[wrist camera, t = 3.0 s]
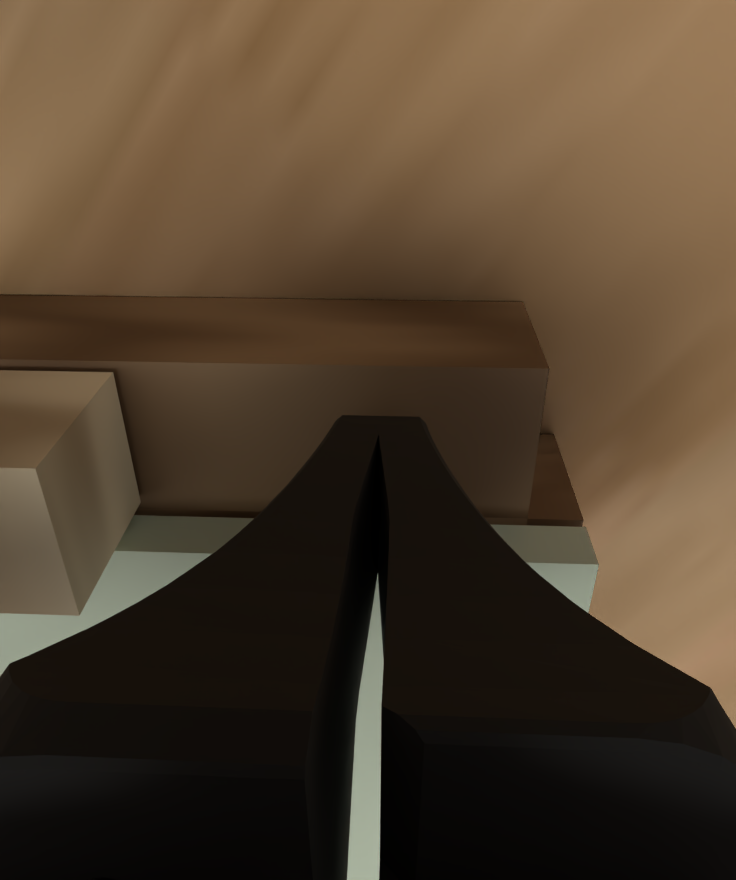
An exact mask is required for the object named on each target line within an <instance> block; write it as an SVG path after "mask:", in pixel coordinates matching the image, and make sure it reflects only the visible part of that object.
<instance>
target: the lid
mask: <svg viewBox="0 0 736 880" xmlns="http://www.w3.org/2000/svg"><path fill="white" fill-rule="evenodd" d="M253 519H254V518H225V517H187V516H149V515H134V516H133V518H132V519H131V521H130V523H129V525H128V527H127V529H126V530H125V532H124V534H123V536H122V538H121V540H120V542H119V543H118V545H117V547H116V549H115V551H114V553H113V555H112V556H111V558H110V560H109V562H108V564H107V566H106V568H105V569H104V571H103V573H102V575H101V577H100V579H99V581H98V582H97V584H96V586H95V588H94V590H93V592H92V594H91V595H90V597H89V599H88V601H87V603H86V605H85V607H84V608H83V610H82V612H81V614H80V616H71V615H40V614H9V613H0V676H1V675H2V673H3V672H4V670H5V669H6V668H7V666H8V665H9V664H10V663H12V662H14V661H17V660H19V659H21V658H24V657H26V656H29V655H31V654H33V653H35V652H37V651H39V650H42V649H44V648H46V647H48V646H50V645H53V644H55V643H57V642H59V641H61V640H64V639H66V638H68V637H70V636H72V635H75V634H77V633H79V632H81V631H83V630H86V629H88V628H90V627H92V626H94V625H96V624H98V623H100V622H102V621H104V620H106V619H108V618H110V617H111V616H113V615H115V614H117V613H119V612H121V611H122V610H124V609H126V608H128V607H130V606H132V605H133V604H135V603H137V602H139V601H141V600H142V599H144V598H146V597H147V596H149V595H151V594H152V593H154V592H156V591H158V590H159V589H161V588H163V587H164V586H166V585H167V584H169V583H171V582H172V581H174V580H175V579H176V578H178V577H179V576H181V575H182V574H184V573H185V572H187V571H188V570H190V569H191V568H192V567H194V566H195V565H197V564H198V563H200V562H201V561H203V560H204V559H206V558H207V557H208V556H210V555H211V554H213V553H214V552H216V551H217V550H218V549H219V548H221V547H222V546H223V545H224V544H225V543H227V542H228V541H229V540H230V539H231V538H233V537H234V536H235V535H236V534H237V533H239V532H240V531H241V530H242V529H243V528H244V527H245V526H247V525H248V524H249V523H250V522H251V521H252V520H253ZM490 525H491V526H492V527H493V528H494V529H495V531H496V532H497V533H498V534H499V535H500V536H501V537H502V538H503V540H504V541H505V542H506V543H507V544H508V545H509V546H510V547H511V548H512V549H513V550H514V551H515V552H516V553H517V554H518V555H519V556H520V557H521V558H522V559H523V560H524V561H525V562H526V563H527V564H528V565H529V566H530V567H531V568H532V569H534V570H535V571H536V572H537V573H538V574H539V575H540V576H542V577H543V578H544V579H545V580H547V581H548V582H549V583H550V584H551V585H553V586H554V587H555V588H556V589H558V590H559V591H560V592H561V593H562V594H564V595H565V596H566V597H567V598H569V599H570V600H571V601H572V602H574V603H575V604H576V605H578V606H579V607H580V608H582V609H583V610H585V611H586V612H587V613H588V612H589V607H590V603H591V598H592V593H593V589H594V584H595V580H596V575H597V571H598V566H599V564H598V561H597V558H596V555H595V552H594V549H593V546H592V543H591V541H590V538H589V535H588V532H587V529H586V527H569V526H531V525H492V524H490ZM383 666H384V659H383V644H382V629H381V614H380V599H379V584H378V575H377V581H376V588H375V594H374V601H373V607H372V614H371V620H370V627H369V633H368V639H367V646H366V652H365V658H364V665H363V671H362V677H361V684H360V690H359V698H358V707H357V716H356V728H355V745H354V762H353V779H352V797H351V815H350V833H349V851H348V870H347V880H379V869H380V794H381V704H382V686H383Z"/></svg>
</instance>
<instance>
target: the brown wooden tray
mask: <svg viewBox="0 0 736 880" xmlns="http://www.w3.org/2000/svg"><path fill="white" fill-rule="evenodd" d="M0 370H13V371H70V372H113V374H114V379H115V383H116V388H117V393H118V397H119V402H120V407H121V412H122V416H123V421H124V426H125V430H126V435H127V440H128V444H129V449H130V454H131V459H132V463H133V468H134V473H135V477H136V482H137V487H138V491H139V496H140V501H141V503H140V505H139V506H138V508H137V510H136V512H135V514H134V515H149V516H187V517H225V518H255V517H256V516H257V515H258V514H259V513H260V512H261V511H262V510H263V509H264V508H265V507H266V506H267V505H268V504H269V503H270V502H271V501H272V500H273V499H274V498H275V497H276V496H277V495H278V494H279V493H280V492H281V491H282V490H283V489H284V487H285V486H286V485H287V484H288V483H289V482H290V481H291V480H292V478H293V477H294V476H295V475H296V474H297V472H298V471H299V470H300V469H301V468H302V466H303V465H304V464H305V463H306V462H307V460H308V459H309V458H310V457H311V455H312V454H313V453H314V451H315V450H316V449H317V447H318V446H319V445H320V443H321V442H322V441H323V439H324V438H325V436H326V435H327V433H328V432H329V430H330V429H331V427H332V426H333V424H334V422H335V421H336V420H337V419H338V418H340V417H341V416H342V415H362V416H412V417H420V418H421V419H422V420H423V421H424V422H425V423H426V424H427V427H428V430H429V432H430V435H431V437H432V439H433V441H434V443H435V445H436V447H437V449H438V450H439V452H440V454H441V456H442V458H443V459H444V461H445V463H446V464H447V466H448V468H449V469H450V471H451V472H452V474H453V475H454V477H455V478H456V480H457V481H458V483H459V484H460V486H461V487H462V489H463V490H464V492H465V493H466V494H467V496H468V497H469V498H470V500H471V501H472V502H473V504H474V505H475V506H476V508H477V509H478V510H479V511H480V513H481V514H482V515H483V516H484V518H485V519H486V520H487V521H488V523H489V524H492V525H531V526H569V527H582V525H583V517H582V514H581V512H580V509H579V506H578V503H577V500H576V497H575V494H574V491H573V488H572V486H571V483H570V480H569V477H568V474H567V471H566V468H565V465H564V462H563V459H562V457H561V454H560V451H559V448H558V445H557V442H556V439H555V436H554V435H552V434H540V429H541V422H542V415H543V408H544V401H545V395H546V388H547V381H548V374H549V367H548V364H547V362H546V359H545V357H544V354H543V352H542V349H541V347H540V344H539V342H538V339H537V337H536V334H535V331H534V329H533V326H532V324H531V321H530V319H529V316H528V314H527V311H526V309H525V306H524V304H523V302H495V301H418V300H342V299H265V298H189V297H112V296H36V295H0Z"/></svg>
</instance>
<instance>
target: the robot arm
mask: <svg viewBox="0 0 736 880" xmlns="http://www.w3.org/2000/svg"><path fill="white" fill-rule="evenodd" d="M377 575H378V584H379V599H380V614H381V629H382V644H383V659H384V666H383V686H382V704H381V794H380V869H379V880H736V729H735V727H734V725H733V724H732V722H731V721H730V719H729V717H728V716H727V714H726V713H725V711H724V709H723V708H722V706H721V705H720V703H719V701H718V700H717V698H716V696H715V694H714V693H713V691H712V689H711V688H710V687H708V686H706V685H705V684H703V683H701V682H699V681H698V680H696V679H694V678H692V677H691V676H689V675H687V674H685V673H684V672H682V671H680V670H678V669H677V668H675V667H673V666H671V665H670V664H668V663H666V662H664V661H663V660H661V659H659V658H657V657H656V656H654V655H652V654H650V653H648V652H647V651H645V650H643V649H641V648H640V647H638V646H636V645H635V644H633V643H632V642H630V641H628V640H627V639H625V638H624V637H622V636H621V635H619V634H618V633H616V632H615V631H614V630H612V629H611V628H609V627H608V626H606V625H605V624H603V623H602V622H600V621H599V620H597V619H596V618H594V617H593V616H591V615H590V614H589V613H587V612H586V611H585V610H583V609H582V608H580V607H579V606H578V605H576V604H575V603H574V602H572V601H571V600H570V599H569V598H567V597H566V596H565V595H564V594H562V593H561V592H560V591H559V590H558V589H556V588H555V587H554V586H553V585H551V584H550V583H549V582H548V581H547V580H545V579H544V578H543V577H542V576H540V575H539V574H538V573H537V572H536V571H535V570H534V569H532V568H531V567H530V566H529V565H528V564H527V563H526V562H525V561H524V560H523V559H522V558H521V557H520V556H519V555H518V554H517V553H516V552H515V551H514V550H513V549H512V548H511V547H510V546H509V545H508V544H507V543H506V542H505V541H504V540H503V538H502V537H501V536H500V535H499V534H498V533H497V532H496V531H495V529H494V528H493V527H492V526H491V525H490V524H489V523H488V521H487V520H486V519H485V518H484V516H483V515H482V514H481V513H480V511H479V510H478V509H477V508H476V506H475V505H474V504H473V502H472V501H471V500H470V498H469V497H468V496H467V494H466V493H465V492H464V490H463V489H462V487H461V486H460V484H459V483H458V481H457V480H456V478H455V477H454V475H453V474H452V472H451V471H450V469H449V468H448V466H447V464H446V463H445V461H444V459H443V458H442V456H441V454H440V452H439V450H438V449H437V447H436V445H435V443H434V441H433V439H432V437H431V435H430V432H429V430H428V427H427V424H426V423H425V422H424V421H423V420H422V419H421V418H420V417H412V416H362V415H342V416H341V417H340V418H338V419H337V420H336V421H335V422H334V424H333V426H332V427H331V429H330V430H329V432H328V433H327V435H326V436H325V438H324V439H323V441H322V442H321V443H320V445H319V446H318V447H317V449H316V450H315V451H314V453H313V454H312V455H311V457H310V458H309V459H308V460H307V462H306V463H305V464H304V465H303V466H302V468H301V469H300V470H299V471H298V472H297V474H296V475H295V476H294V477H293V478H292V480H291V481H290V482H289V483H288V484H287V485H286V486H285V487H284V489H283V490H282V491H281V492H280V493H279V494H278V495H277V496H276V497H275V498H274V499H273V500H272V501H271V502H270V503H269V504H268V505H267V506H266V507H265V508H264V509H263V510H262V511H261V512H260V513H259V514H258V515H257V516H256V517H255V518H254V519H253V520H252V521H251V522H250V523H249V524H248V525H247V526H245V527H244V528H243V529H242V530H241V531H240V532H239V533H237V534H236V535H235V536H234V537H233V538H231V539H230V540H229V541H228V542H227V543H225V544H224V545H223V546H222V547H221V548H219V549H218V550H217V551H216V552H214V553H213V554H211V555H210V556H208V557H207V558H206V559H204V560H203V561H201V562H200V563H198V564H197V565H195V566H194V567H192V568H191V569H190V570H188V571H187V572H185V573H184V574H182V575H181V576H179V577H178V578H176V579H175V580H174V581H172V582H171V583H169V584H167V585H166V586H164V587H163V588H161V589H159V590H158V591H156V592H154V593H152V594H151V595H149V596H147V597H146V598H144V599H142V600H141V601H139V602H137V603H135V604H133V605H132V606H130V607H128V608H126V609H124V610H122V611H121V612H119V613H117V614H115V615H113V616H111V617H110V618H108V619H106V620H104V621H102V622H100V623H98V624H96V625H94V626H92V627H90V628H88V629H86V630H83V631H81V632H79V633H77V634H75V635H72V636H70V637H68V638H66V639H64V640H61V641H59V642H57V643H55V644H53V645H50V646H48V647H46V648H44V649H42V650H39V651H37V652H35V653H33V654H31V655H29V656H26V657H24V658H21V659H19V660H17V661H14V662H12V663H10V664H9V665H8V666H7V668H6V669H5V670H4V672H3V673H2V675H1V676H0V880H347V870H348V851H349V833H350V815H351V797H352V779H353V762H354V745H355V728H356V716H357V707H358V698H359V690H360V684H361V677H362V671H363V665H364V658H365V652H366V646H367V639H368V633H369V627H370V620H371V614H372V607H373V601H374V594H375V588H376V581H377Z"/></svg>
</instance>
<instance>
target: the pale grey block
mask: <svg viewBox="0 0 736 880" xmlns="http://www.w3.org/2000/svg"><path fill="white" fill-rule="evenodd" d="M140 503H141V501H140V496H139V491H138V487H137V482H136V477H135V473H134V468H133V463H132V459H131V454H130V449H129V444H128V440H127V435H126V430H125V426H124V421H123V416H122V412H121V407H120V402H119V397H118V393H117V388H116V383H115V379H114V374H113V372H70V371H13V370H0V613H9V614H40V615H71V616H80V614H81V612H82V610H83V608H84V607H85V605H86V603H87V601H88V599H89V597H90V595H91V594H92V592H93V590H94V588H95V586H96V584H97V582H98V581H99V579H100V577H101V575H102V573H103V571H104V569H105V568H106V566H107V564H108V562H109V560H110V558H111V556H112V555H113V553H114V551H115V549H116V547H117V545H118V543H119V542H120V540H121V538H122V536H123V534H124V532H125V530H126V529H127V527H128V525H129V523H130V521H131V519H132V518H133V516H134V514H135V512H136V510H137V508H138V506H139V505H140Z"/></svg>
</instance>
